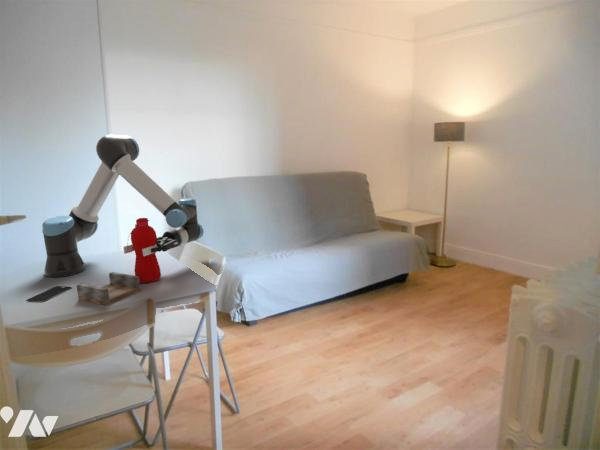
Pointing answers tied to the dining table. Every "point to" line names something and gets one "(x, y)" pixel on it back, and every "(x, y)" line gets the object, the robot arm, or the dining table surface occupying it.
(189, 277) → the dining table surface
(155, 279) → the water bottle
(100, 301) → the bottle holder
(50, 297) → the smartphone
